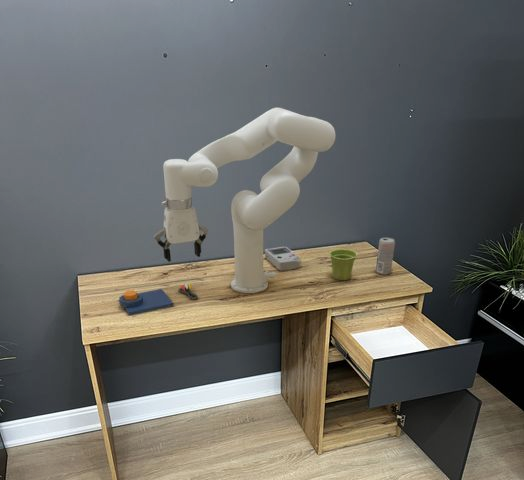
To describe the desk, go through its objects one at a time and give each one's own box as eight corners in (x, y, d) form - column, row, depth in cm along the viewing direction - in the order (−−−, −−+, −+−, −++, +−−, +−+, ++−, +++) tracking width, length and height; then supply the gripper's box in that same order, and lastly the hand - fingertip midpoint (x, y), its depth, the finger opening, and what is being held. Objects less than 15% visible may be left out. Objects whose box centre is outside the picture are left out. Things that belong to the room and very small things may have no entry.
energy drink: (386, 268, 187) (390, 236, 181) (393, 273, 183) (398, 241, 177) (372, 270, 186) (376, 238, 180) (380, 275, 182) (384, 243, 175)
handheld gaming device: (279, 272, 185) (280, 262, 183) (264, 258, 196) (264, 248, 195) (302, 268, 188) (302, 258, 186) (285, 255, 199) (285, 245, 197)
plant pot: (336, 284, 175) (338, 260, 171) (323, 274, 183) (324, 251, 178) (360, 279, 179) (362, 256, 174) (345, 270, 186) (347, 247, 181)
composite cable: (199, 299, 166) (198, 292, 164) (184, 302, 164) (184, 295, 163) (190, 287, 173) (190, 281, 172) (177, 290, 172) (176, 283, 171)
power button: (135, 295, 163) (134, 289, 162) (139, 299, 160) (138, 294, 159) (123, 297, 161) (122, 291, 160) (126, 302, 158) (125, 296, 157)
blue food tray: (161, 292, 171) (160, 283, 169) (173, 306, 162) (172, 297, 160) (116, 300, 165) (115, 292, 163) (126, 316, 156) (124, 307, 154)
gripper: (154, 210, 147) (159, 266, 156) (210, 203, 154) (213, 257, 163) (147, 203, 153) (152, 258, 162) (201, 197, 160) (204, 250, 168)
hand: (183, 257), depth 162 cm, fingers open, 9 cm apart
